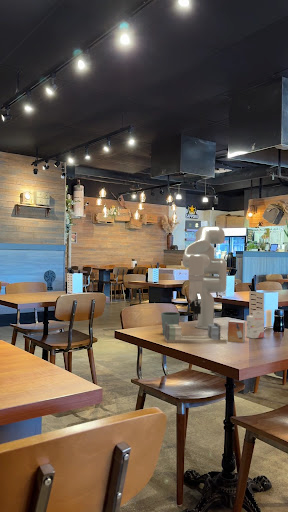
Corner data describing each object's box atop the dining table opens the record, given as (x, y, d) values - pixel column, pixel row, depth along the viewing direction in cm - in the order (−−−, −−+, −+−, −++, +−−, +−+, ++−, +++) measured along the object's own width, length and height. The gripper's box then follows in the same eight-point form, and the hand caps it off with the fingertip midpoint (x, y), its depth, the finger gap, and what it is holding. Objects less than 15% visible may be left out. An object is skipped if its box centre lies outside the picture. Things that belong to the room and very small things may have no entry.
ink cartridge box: (257, 335, 235) (258, 309, 235) (264, 337, 231) (264, 310, 231) (245, 336, 231) (246, 310, 231) (252, 338, 227) (252, 311, 227)
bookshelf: (164, 339, 220) (164, 322, 220) (220, 339, 223) (220, 322, 223) (167, 344, 209) (167, 326, 209) (226, 344, 212) (226, 326, 212)
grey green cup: (183, 335, 232) (183, 313, 232) (171, 337, 225) (171, 315, 225) (168, 332, 239) (169, 311, 239) (157, 334, 232) (157, 313, 232)
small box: (227, 341, 218) (227, 321, 218) (229, 339, 224) (230, 319, 223) (243, 343, 215) (243, 322, 215) (244, 341, 221) (245, 321, 220)
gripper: (185, 277, 224) (184, 310, 224) (192, 279, 207) (191, 315, 207) (199, 277, 225) (198, 310, 225) (207, 279, 208) (206, 315, 208)
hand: (195, 312), depth 216 cm, fingers open, 8 cm apart
